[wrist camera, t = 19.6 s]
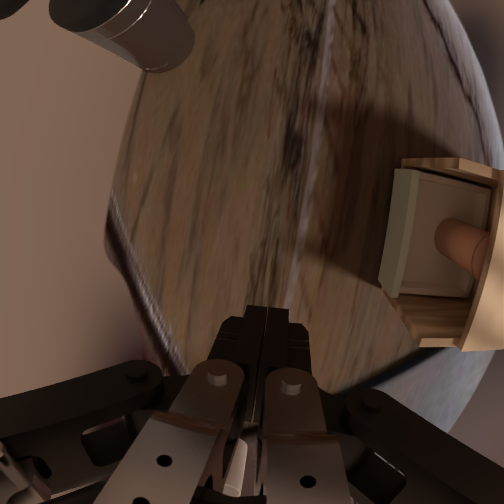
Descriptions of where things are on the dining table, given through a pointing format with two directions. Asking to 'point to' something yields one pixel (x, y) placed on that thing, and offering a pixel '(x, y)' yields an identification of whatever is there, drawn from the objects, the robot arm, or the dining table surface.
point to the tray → (427, 233)
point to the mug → (236, 471)
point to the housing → (483, 292)
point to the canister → (463, 244)
